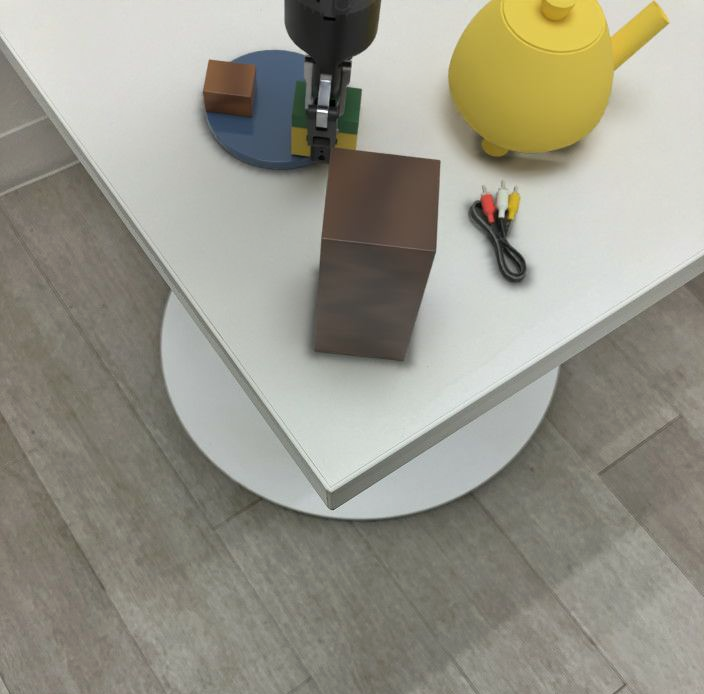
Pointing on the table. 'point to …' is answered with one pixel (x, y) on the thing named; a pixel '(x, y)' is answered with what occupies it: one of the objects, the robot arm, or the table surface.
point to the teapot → (541, 70)
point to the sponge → (345, 124)
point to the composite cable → (500, 226)
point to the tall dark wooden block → (375, 251)
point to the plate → (264, 113)
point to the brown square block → (230, 88)
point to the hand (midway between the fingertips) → (324, 140)
